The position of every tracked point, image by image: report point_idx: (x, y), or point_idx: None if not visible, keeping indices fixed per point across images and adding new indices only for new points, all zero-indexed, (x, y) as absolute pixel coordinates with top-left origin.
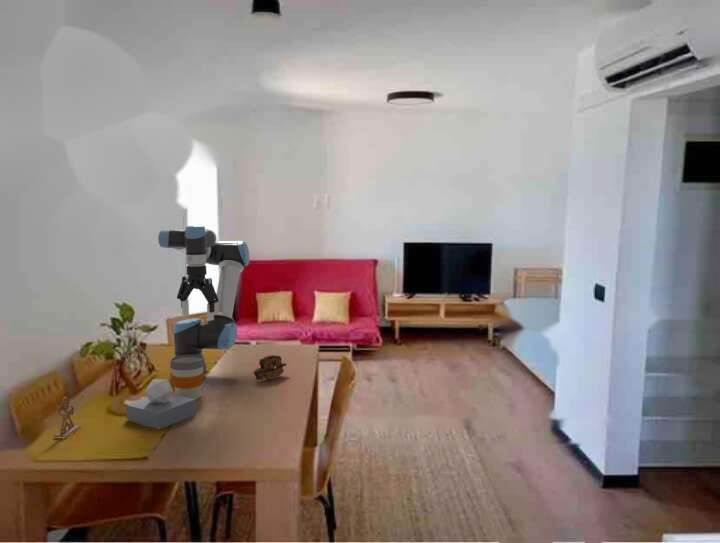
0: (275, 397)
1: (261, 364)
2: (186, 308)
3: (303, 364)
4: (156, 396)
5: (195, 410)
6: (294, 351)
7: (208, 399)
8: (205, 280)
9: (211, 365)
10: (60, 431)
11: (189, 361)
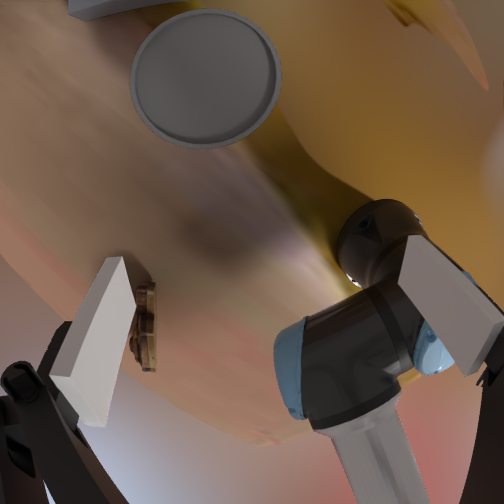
0: (36, 224)
1: (145, 320)
2: (437, 305)
3: (183, 396)
4: None
5: (81, 19)
6: (263, 426)
7: None
8: None
9: None
10: None
11: (180, 71)
